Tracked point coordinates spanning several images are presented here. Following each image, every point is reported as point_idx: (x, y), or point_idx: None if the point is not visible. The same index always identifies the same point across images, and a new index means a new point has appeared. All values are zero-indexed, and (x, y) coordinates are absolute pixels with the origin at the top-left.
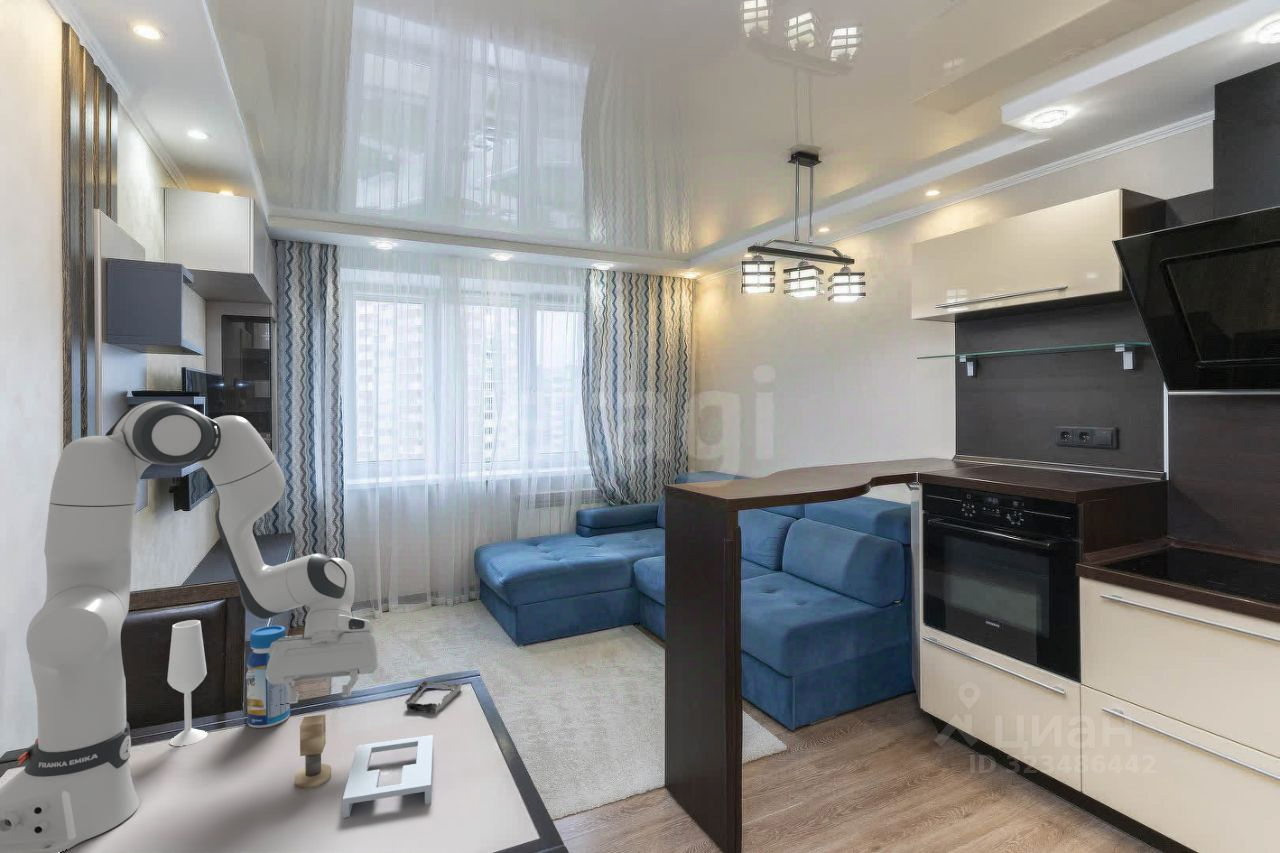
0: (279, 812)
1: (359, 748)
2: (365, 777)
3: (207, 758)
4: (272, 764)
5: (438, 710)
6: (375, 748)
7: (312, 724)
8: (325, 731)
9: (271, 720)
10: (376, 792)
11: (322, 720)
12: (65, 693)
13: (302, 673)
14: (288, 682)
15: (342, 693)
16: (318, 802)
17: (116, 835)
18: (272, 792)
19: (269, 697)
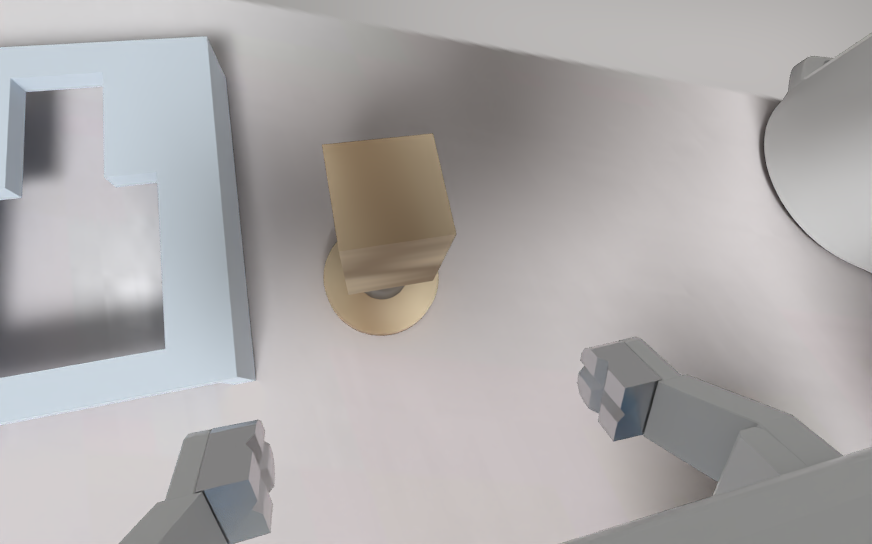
0: (412, 130)
1: (221, 348)
2: (152, 134)
3: None
4: (562, 391)
5: None
6: (151, 353)
7: (370, 140)
8: (345, 279)
9: None
10: (97, 46)
11: (329, 176)
12: None
13: (718, 494)
14: (763, 425)
15: (253, 421)
16: (319, 157)
17: (737, 110)
18: (477, 225)
19: None
